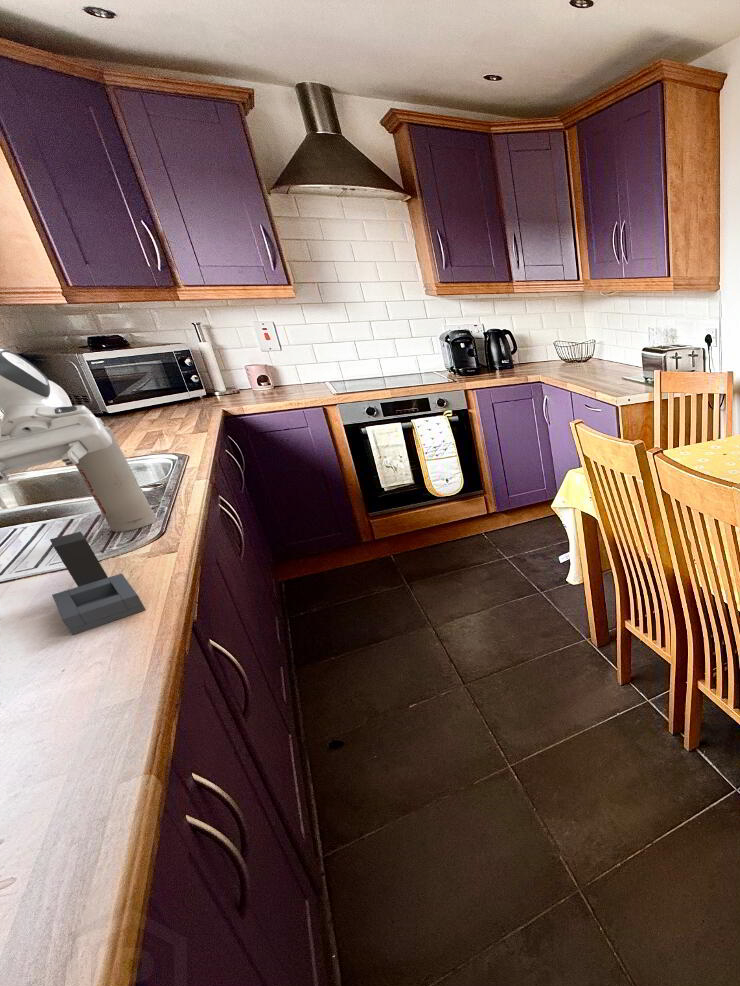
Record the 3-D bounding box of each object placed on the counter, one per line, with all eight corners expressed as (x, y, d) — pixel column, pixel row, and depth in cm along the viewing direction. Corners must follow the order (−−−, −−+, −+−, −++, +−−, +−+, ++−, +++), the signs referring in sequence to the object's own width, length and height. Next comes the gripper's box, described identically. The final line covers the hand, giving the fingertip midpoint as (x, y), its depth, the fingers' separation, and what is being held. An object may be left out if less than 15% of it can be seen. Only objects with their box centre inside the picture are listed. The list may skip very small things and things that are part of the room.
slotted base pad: (61, 609, 101) (51, 594, 100) (129, 587, 107) (121, 573, 106) (72, 635, 93) (62, 619, 92) (146, 609, 99) (137, 594, 98)
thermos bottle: (110, 534, 132) (41, 412, 120) (113, 525, 137) (48, 406, 125) (156, 524, 136) (94, 405, 124) (157, 515, 142) (98, 400, 130)
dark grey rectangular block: (79, 587, 108) (49, 539, 104) (108, 578, 111) (80, 531, 107) (84, 596, 105) (53, 547, 101) (113, 587, 108) (85, 538, 103)
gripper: (-54, 435, 103) (-65, 476, 96) (94, 402, 112) (95, 438, 105) (-24, 463, 108) (-32, 505, 100) (116, 430, 117) (119, 465, 109)
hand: (34, 470), depth 103 cm, fingers open, 8 cm apart
